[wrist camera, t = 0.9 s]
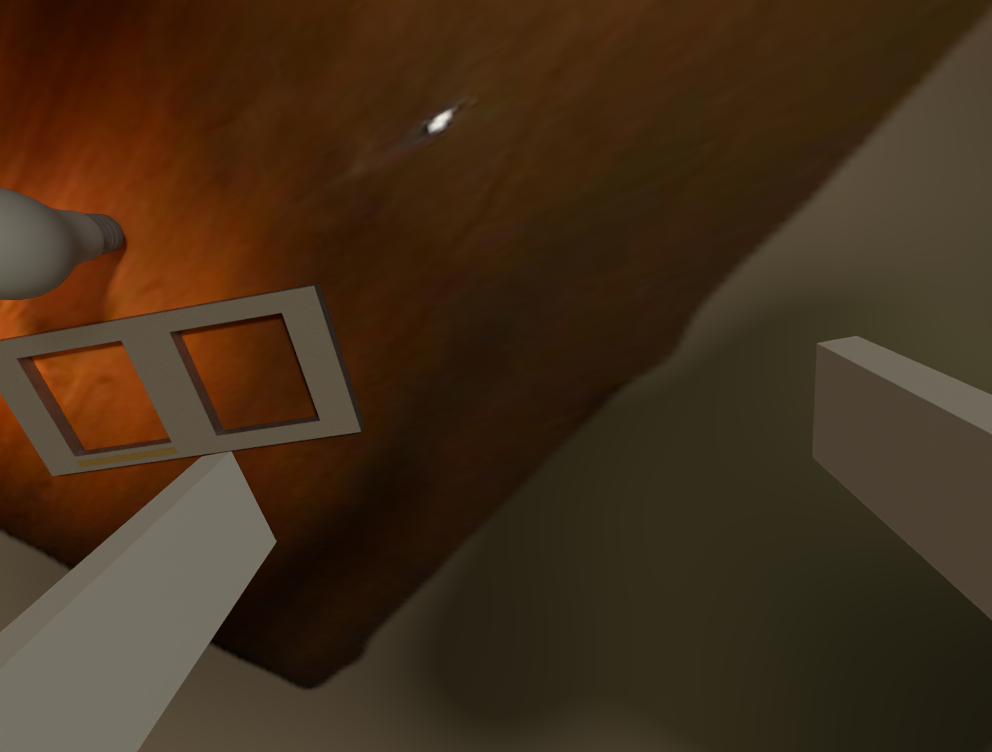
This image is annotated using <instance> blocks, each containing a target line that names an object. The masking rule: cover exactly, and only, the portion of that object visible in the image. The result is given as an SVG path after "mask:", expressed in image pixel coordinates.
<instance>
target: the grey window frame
mask: <svg viewBox="0 0 992 752" xmlns="http://www.w3.org/2000/svg"><path fill="white" fill-rule="evenodd" d="M277 313H282V315H283V317H284V320H285V323H286V326H287V329H288V331H289V334H290V337H291V340H292V343H293V345H294V348H295V351H296V354H297V357H298V360H299V362H300V365H301V368H302V371H303V374H304V376H305V379H306V382H307V385H308V388H309V390H310V393H311V396H312V399H313V402H314V404H315V407H316V410H317V413H318V416H315V417H308V418H301V419H295V420H288V421H281V422H275V423H268V424H261V425H254V426H248V427H241V428H234V429H227V430H223V428H222V425H221V423H220V421H219V419H218V416H217V414H216V412H215V410H214V407H213V405H212V403H211V401H210V399H209V396H208V394H207V392H206V390H205V387H204V385H203V383H202V381H201V378H200V376H199V374H198V372H197V369H196V367H195V365H194V363H193V360H192V358H191V356H190V354H189V351H188V349H187V347H186V345H185V342H184V340H183V338H182V336H181V334H180V331H179V330H185V329H190V328H196V327H202V326H208V325H214V324H219V323H225V322H231V321H237V320H242V319H248V318H254V317H260V316H266V315H271V314H277ZM115 341H122V343H123V345H124V347H125V349H126V351H127V353H128V355H129V357H130V359H131V361H132V363H133V365H134V367H135V369H136V371H137V373H138V375H139V377H140V379H141V381H142V383H143V385H144V387H145V389H146V391H147V393H148V395H149V397H150V399H151V401H152V403H153V405H154V408H155V410H156V412H157V414H158V416H159V418H160V420H161V422H162V424H163V426H164V428H165V430H166V432H167V434H168V436H169V438H167V439H160V440H153V441H147V442H140V443H133V444H126V445H120V446H113V447H106V448H99V449H93V450H86V451H85V450H84V448H83V447H82V445H81V443H80V441H79V440H78V438H77V436H76V435H75V433H74V431H73V429H72V428H71V426H70V424H69V423H68V421H67V419H66V417H65V416H64V414H63V412H62V411H61V409H60V407H59V405H58V404H57V402H56V400H55V399H54V397H53V395H52V393H51V392H50V390H49V388H48V387H47V385H46V383H45V381H44V380H43V378H42V376H41V375H40V373H39V371H38V369H37V368H36V366H35V364H34V362H33V361H32V359H31V357H30V356H34V355H40V354H45V353H51V352H57V351H63V350H69V349H74V348H80V347H86V346H92V345H98V344H103V343H109V342H115ZM0 393H1V395H2V396H3V398H4V400H5V401H6V403H7V404H8V406H9V407H10V409H11V411H12V412H13V414H14V415H15V417H16V419H17V420H18V422H19V423H20V425H21V427H22V428H23V430H24V431H25V433H26V435H27V436H28V438H29V439H30V441H31V443H32V444H33V446H34V447H35V449H36V451H37V452H38V454H39V455H40V457H41V459H42V460H43V462H44V463H45V465H46V466H47V468H48V470H49V471H50V473H51V474H52V476H57V475H64V474H71V473H78V472H85V471H92V470H99V469H106V468H113V467H120V466H127V465H134V464H140V463H147V462H154V461H161V460H168V459H175V458H182V457H189V456H196V455H203V454H210V453H217V452H224V451H231V450H238V449H245V448H252V447H259V446H266V445H273V444H280V443H287V442H294V441H301V440H307V439H314V438H321V437H328V436H335V435H342V434H349V433H356V432H361V431H362V430H363V428H364V426H365V425H364V422H363V419H362V415H361V412H360V409H359V406H358V403H357V400H356V396H355V393H354V390H353V387H352V384H351V381H350V378H349V374H348V371H347V368H346V365H345V362H344V359H343V356H342V352H341V349H340V346H339V343H338V340H337V337H336V333H335V330H334V327H333V324H332V321H331V318H330V315H329V311H328V308H327V305H326V302H325V299H324V296H323V292H322V289H321V286H320V283H317V284H311V285H305V286H300V287H294V288H289V289H283V290H277V291H272V292H266V293H260V294H255V295H249V296H243V297H238V298H232V299H227V300H221V301H215V302H210V303H204V304H198V305H193V306H187V307H182V308H176V309H170V310H165V311H159V312H153V313H148V314H142V315H137V316H131V317H125V318H120V319H114V320H108V321H103V322H97V323H91V324H86V325H80V326H75V327H69V328H63V329H58V330H52V331H46V332H41V333H35V334H30V335H24V336H18V337H13V338H7V339H1V340H0Z"/></svg>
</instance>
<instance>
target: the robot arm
mask: <svg viewBox="0 0 992 752" xmlns="http://www.w3.org/2000/svg"><path fill="white" fill-rule="evenodd" d="M814 404H815V406H814V428H813V453H812V454H813V455H812V457H813V458H814V459H815V460H816V461H817V462H818V463H820V464H821V465H822V466H823V467H824V468H825V469H826V470H827V471H828V472H829V473H831V474H832V475H833V476H834V477H835V478H836V479H837V480H838V481H839V482H840V483H842V484H843V485H844V486H845V487H846V488H847V489H848V490H849V491H851V492H852V493H853V494H854V495H855V496H856V497H857V498H858V499H859V500H860V501H861V502H863V503H864V504H865V505H866V506H867V507H868V508H869V509H870V510H871V511H872V512H874V513H875V514H876V515H877V516H878V517H879V518H880V519H881V520H882V521H883V522H885V523H886V524H887V525H888V526H889V527H890V528H891V529H892V530H893V531H894V532H896V533H897V534H898V535H899V536H900V537H901V538H902V539H903V540H904V541H905V542H907V543H908V544H909V545H910V546H911V547H912V548H913V549H914V550H915V551H917V552H918V553H919V554H920V555H921V556H922V557H923V558H924V559H925V560H926V561H928V562H929V563H930V564H931V565H932V566H933V567H934V568H935V569H936V570H937V571H939V572H940V573H941V574H942V575H943V576H944V577H945V578H946V579H948V581H950V582H951V583H952V584H953V585H954V586H955V587H956V588H957V589H958V590H959V591H961V592H962V593H963V594H964V595H965V596H966V597H967V598H968V599H969V600H971V601H972V602H973V603H974V604H975V605H976V606H977V607H978V608H979V609H980V610H982V611H983V612H984V613H985V614H986V615H987V616H988V617H989V618H990V619H991V620H992V395H990V394H988V393H986V392H984V391H981V390H979V389H977V388H974V387H972V386H970V385H967V384H965V383H963V382H960V381H959V380H956V379H954V378H952V377H949V376H947V375H945V374H942V373H940V372H938V371H936V370H933V369H931V368H929V367H927V366H924V365H922V364H920V363H917V362H915V361H913V360H910V359H908V358H906V357H904V356H901V355H899V354H897V353H895V352H892V351H890V350H888V349H885V348H883V347H881V346H878V345H876V344H874V343H872V342H869V341H867V340H865V339H863V338H860V337H858V336H854V337H849V338H844V339H838V340H833V341H827V342H821V343H817V354H816V380H815V403H814ZM275 543H276V540H275V538H274V536H273V534H272V532H271V530H270V528H269V526H268V524H267V522H266V520H265V518H264V516H263V514H262V512H261V510H260V508H259V506H258V504H257V502H256V500H255V498H254V496H253V494H252V492H251V490H250V488H249V486H248V484H247V482H246V480H245V478H244V476H243V474H242V472H241V470H240V468H239V466H238V464H237V462H236V460H235V458H234V456H233V454H232V452H231V451H229V452H224V453H219V454H213V455H208V456H202V457H201V458H200V459H198V460H197V461H196V462H195V463H194V464H193V465H192V466H190V467H189V468H188V469H187V470H186V471H185V472H183V473H182V474H181V475H180V476H179V477H178V478H177V479H175V480H174V481H173V482H172V483H171V484H170V485H169V486H167V487H166V488H165V489H164V490H163V491H162V492H161V493H159V494H158V495H157V496H156V497H155V498H154V499H153V500H151V501H150V502H149V503H148V504H147V505H146V506H144V507H143V508H142V509H141V510H140V511H139V512H138V513H136V514H135V515H134V516H133V517H132V518H131V519H130V520H128V521H127V522H126V523H125V524H124V525H123V526H122V527H120V528H119V529H118V530H117V531H116V532H115V533H114V534H112V535H111V536H110V537H109V538H108V539H107V540H105V541H104V542H103V543H102V544H101V545H100V546H99V547H97V548H96V549H95V550H94V551H93V552H92V553H91V554H89V555H88V556H87V557H86V558H85V559H84V560H83V561H81V562H80V563H79V564H78V565H77V566H76V567H75V568H73V569H72V570H71V571H70V572H69V573H68V574H67V575H65V576H64V577H63V578H62V579H61V580H60V581H58V582H57V583H56V584H55V585H54V586H53V587H52V588H51V589H49V590H48V591H47V592H46V593H45V594H44V595H42V596H41V597H40V598H39V599H38V600H37V601H36V602H34V603H33V604H32V605H31V606H30V607H29V608H28V609H26V610H25V611H24V612H23V613H22V614H21V615H20V616H18V617H17V618H16V619H15V620H14V621H13V622H11V623H10V624H9V625H8V626H7V627H6V628H5V629H3V631H1V632H0V752H137V751H138V749H139V748H140V746H141V745H142V743H143V742H144V740H145V739H146V737H147V736H148V734H149V733H150V731H151V730H152V728H153V727H154V725H155V724H156V722H157V721H158V719H159V718H160V716H161V715H162V713H163V712H164V710H165V709H166V707H167V706H168V704H169V703H170V701H171V700H172V698H173V697H174V695H175V694H176V692H177V691H178V689H179V688H180V686H181V685H182V683H183V682H184V680H185V679H186V677H187V675H188V674H189V672H190V671H191V670H192V668H193V666H194V665H195V663H196V662H197V661H198V659H199V658H200V656H201V654H202V653H203V652H204V650H205V648H206V647H207V645H208V644H209V642H210V641H211V639H212V638H213V636H214V635H215V633H216V632H217V630H218V629H219V627H220V626H221V624H222V623H223V621H224V620H225V618H226V617H227V615H228V614H229V612H230V611H231V609H232V608H233V606H234V605H235V603H236V602H237V600H238V599H239V597H240V596H241V594H242V593H243V591H244V590H245V588H246V587H247V585H248V584H249V582H250V581H251V579H252V578H253V576H254V575H255V573H256V572H257V570H258V569H259V567H260V566H261V564H262V563H263V561H264V560H265V558H266V557H267V555H268V554H269V552H270V551H271V549H272V548H273V546H274V545H275Z"/></svg>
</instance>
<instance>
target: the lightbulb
mask: <svg viewBox="0 0 992 752" xmlns="http://www.w3.org/2000/svg"><path fill="white" fill-rule="evenodd" d="M123 240H124V235H123V231H122V229H121V227H120V226H119V224H118V223H117V222H116V221H115V220H113V219H112V218H111V217H109V216H107V215H103V214H83V213H81V212H77V211H63V210H57V209H53V208H50V207H48V206H46V205H44V204H42V203H41V202H39V201H36V200H34V199H32V198H30V197H27V196H25V195H23V194H20V193H18V192H16V191H12V190H8V189H3V188H0V300H22V299H28V298H33V297H37V296H41V295H43V294H45V293H47V292H49V291H51V290H53V289H55V288H56V287H58V286H59V285H60V284H61V283H62V282H63V281H64V280H65V279H66V278H67V277H68V276H69V275H70V273H71V272H72V270H73V269H74V267H75V266H77V265H78V264H80V263H82V262H84V261H88V260H92V259H95V258H97V257H98V256H99V255H100V254H104V253H109V252H111V251H116V250H118V249H119V248H120V247H121V246H122V244H123Z"/></svg>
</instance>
